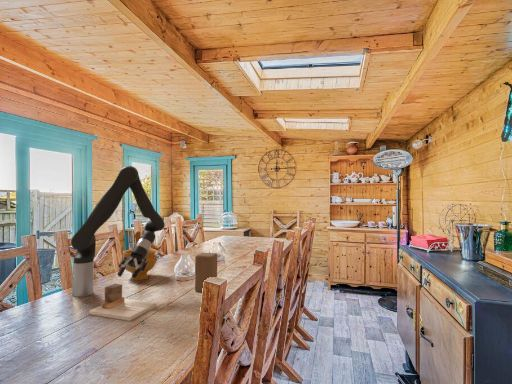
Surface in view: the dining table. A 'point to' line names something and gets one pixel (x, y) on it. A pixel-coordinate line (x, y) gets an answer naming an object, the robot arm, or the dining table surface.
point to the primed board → (124, 310)
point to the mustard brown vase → (151, 262)
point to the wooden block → (204, 268)
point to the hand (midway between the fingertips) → (126, 276)
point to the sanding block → (113, 296)
